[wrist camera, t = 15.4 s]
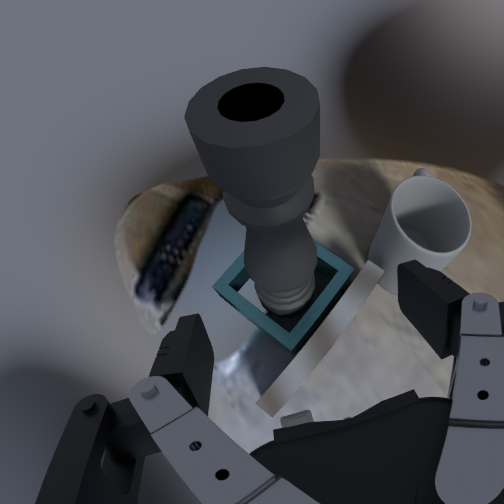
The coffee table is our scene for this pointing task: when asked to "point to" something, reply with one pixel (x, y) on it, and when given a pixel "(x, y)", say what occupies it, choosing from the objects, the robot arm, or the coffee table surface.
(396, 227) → the mug
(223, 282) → the frame
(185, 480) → the robot arm
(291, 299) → the candle holder
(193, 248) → the coffee table surface
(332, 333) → the door edge rail
